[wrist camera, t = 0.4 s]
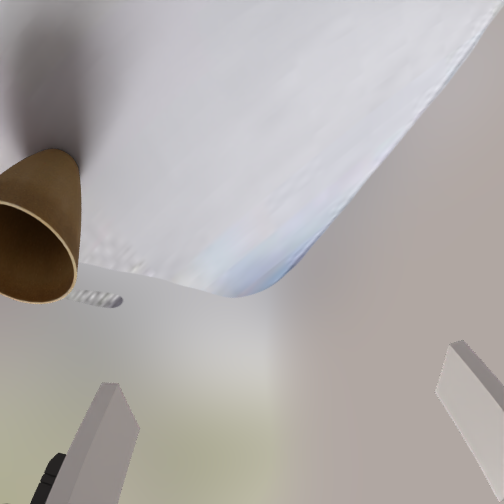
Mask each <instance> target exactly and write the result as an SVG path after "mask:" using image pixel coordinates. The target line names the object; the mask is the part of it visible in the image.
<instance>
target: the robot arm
mask: <svg viewBox="0 0 504 504" xmlns="http://www.w3.org/2000/svg"><path fill="white" fill-rule="evenodd" d="M435 393H436V395H437V396H438V398H439V400H440V401H441V403H442V404H443V406H444V407H445V409H446V410H447V412H448V414H449V415H450V417H451V419H452V420H453V422H454V423H455V425H456V427H457V428H458V430H459V432H460V433H461V435H462V437H463V438H464V440H465V442H466V443H467V445H468V447H469V449H470V450H471V452H472V454H473V455H474V457H475V459H476V461H477V462H478V464H479V466H480V468H481V470H482V471H483V473H484V475H485V477H486V479H487V481H488V482H489V484H490V486H491V488H492V490H493V492H494V493H495V496H496V498H497V499H498V501H499V503H500V502H501V501H503V500H504V386H503V384H502V383H501V382H500V381H499V380H498V378H497V377H496V376H495V375H494V374H493V373H492V372H491V370H490V369H489V368H488V367H487V366H486V365H485V364H484V362H483V361H482V360H481V359H480V358H479V357H478V356H477V355H476V354H475V352H474V351H473V350H472V349H471V348H470V347H469V346H468V345H467V344H466V343H465V342H464V340H461V341H458V342H454V343H451V344H449V346H448V350H447V354H446V358H445V361H444V365H443V368H442V371H441V375H440V378H439V381H438V385H437V388H436V391H435ZM139 430H140V427H139V425H138V423H137V421H136V420H135V417H134V415H133V413H132V412H131V409H130V407H129V405H128V403H127V401H126V399H125V397H124V395H123V392H122V390H121V388H120V386H119V384H118V383H101V385H100V387H99V389H98V391H97V393H96V395H95V397H94V399H93V401H92V403H91V405H90V407H89V409H88V411H87V413H86V415H85V417H84V419H83V421H82V423H81V425H80V427H79V429H78V432H77V433H76V435H75V438H74V440H73V442H72V444H71V446H70V448H69V450H68V453H67V455H66V454H62V453H58V454H57V455H55V456H54V458H53V459H51V461H50V462H49V463H48V465H47V468H46V470H45V472H44V473H45V474H44V475H43V476H42V478H41V480H40V481H41V483H39V485H38V487H37V489H36V492H35V494H34V496H33V498H32V501H31V503H30V504H118V500H119V497H120V494H121V490H122V487H123V483H124V479H125V476H126V472H127V469H128V466H129V462H130V459H131V456H132V452H133V449H134V446H135V443H136V440H137V436H138V433H139Z"/></svg>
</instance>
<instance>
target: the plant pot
mask: <svg viewBox="0 0 504 504" xmlns="http://www.w3.org/2000/svg"><path fill="white" fill-rule="evenodd" d="M80 235H81V185H80V175H79V169H78V166H77V164H76V162H75V161H74V159H73V158H72V157H71V156H70V155H69V154H67V153H66V152H64V151H62V150H59V149H47V150H43V151H41V152H38V153H36V154H33V155H31V156H29V157H27V158H25V159H23V160H22V161H20V162H18V163H17V164H15V165H13V166H12V167H10V168H9V169H7V170H6V171H5V172H3V173H2V174H1V175H0V294H1V295H4V296H6V297H8V298H11V299H13V300H16V301H20V302H25V303H30V304H46V303H51V302H56V301H58V300H61V299H62V298H64V297H66V296H67V295H68V294H69V293H70V292H71V291H72V289H73V287H74V285H75V283H76V278H77V268H78V258H79V247H80Z"/></svg>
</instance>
